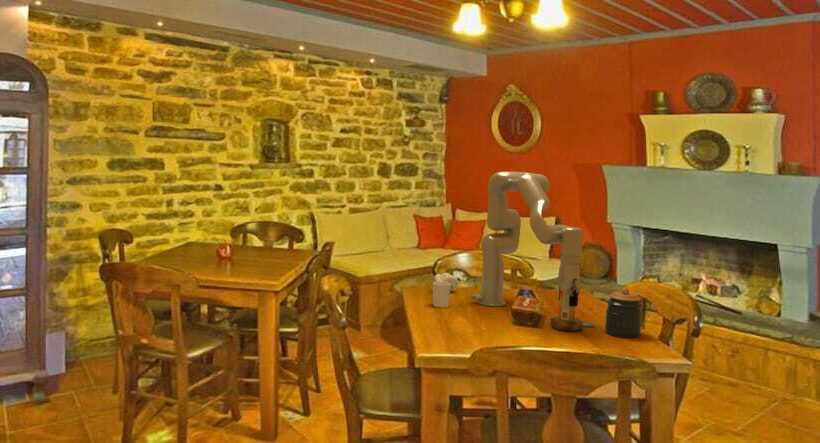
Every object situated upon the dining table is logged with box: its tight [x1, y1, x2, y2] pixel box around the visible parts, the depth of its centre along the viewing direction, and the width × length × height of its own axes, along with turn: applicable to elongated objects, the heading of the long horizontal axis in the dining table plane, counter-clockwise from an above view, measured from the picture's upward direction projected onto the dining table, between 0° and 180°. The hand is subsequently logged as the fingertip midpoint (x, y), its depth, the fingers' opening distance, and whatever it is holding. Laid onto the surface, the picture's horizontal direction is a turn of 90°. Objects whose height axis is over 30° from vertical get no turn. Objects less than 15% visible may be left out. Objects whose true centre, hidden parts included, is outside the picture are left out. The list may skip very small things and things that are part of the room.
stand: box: [550, 315, 584, 333], centre depth 233 cm, size 12×12×3 cm
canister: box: [604, 287, 644, 339], centre depth 228 cm, size 13×13×18 cm
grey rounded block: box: [434, 272, 459, 292], centre depth 289 cm, size 11×12×9 cm
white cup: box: [432, 281, 451, 309], centre depth 261 cm, size 8×8×10 cm
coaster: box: [582, 320, 596, 328], centre depth 239 cm, size 7×7×1 cm
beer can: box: [558, 284, 576, 322], centre depth 233 cm, size 6×6×15 cm
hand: (567, 303), depth 232 cm, fingers open, 9 cm apart
